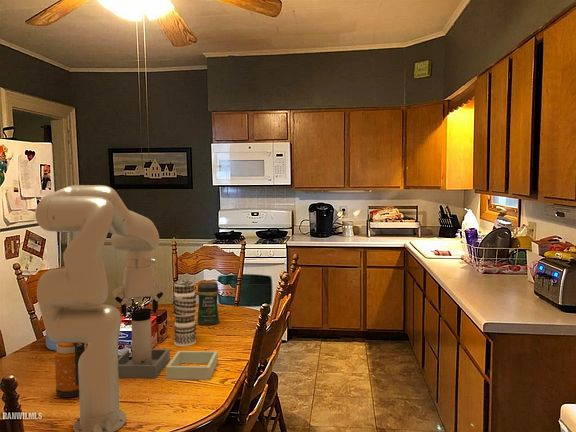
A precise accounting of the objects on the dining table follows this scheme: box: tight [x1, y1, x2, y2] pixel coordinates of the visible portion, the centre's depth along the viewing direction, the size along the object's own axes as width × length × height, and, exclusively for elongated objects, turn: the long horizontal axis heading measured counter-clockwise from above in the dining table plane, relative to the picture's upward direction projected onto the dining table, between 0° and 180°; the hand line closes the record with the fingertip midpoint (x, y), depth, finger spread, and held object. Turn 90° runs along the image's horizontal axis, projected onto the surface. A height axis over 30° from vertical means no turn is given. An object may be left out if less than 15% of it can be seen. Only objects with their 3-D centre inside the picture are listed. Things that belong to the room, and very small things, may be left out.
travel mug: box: [130, 307, 153, 365], centre depth 150 cm, size 6×7×20 cm
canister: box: [54, 343, 88, 398], centre depth 132 cm, size 9×11×20 cm
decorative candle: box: [172, 278, 197, 347], centre depth 175 cm, size 9×9×25 cm
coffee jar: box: [196, 281, 220, 326], centre depth 201 cm, size 10×8×19 cm
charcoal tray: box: [118, 348, 171, 379], centre depth 151 cm, size 15×15×4 cm
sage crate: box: [165, 350, 219, 381], centre depth 149 cm, size 14×14×4 cm
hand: (139, 314), depth 149 cm, fingers open, 9 cm apart
